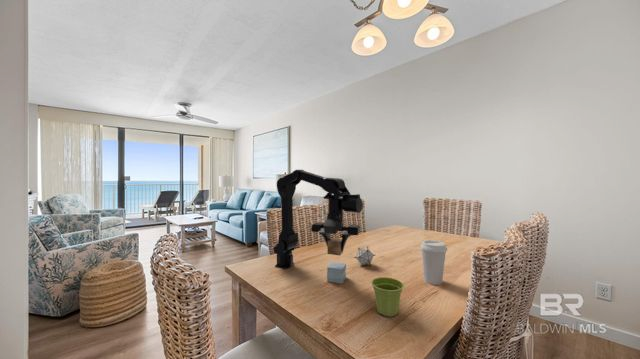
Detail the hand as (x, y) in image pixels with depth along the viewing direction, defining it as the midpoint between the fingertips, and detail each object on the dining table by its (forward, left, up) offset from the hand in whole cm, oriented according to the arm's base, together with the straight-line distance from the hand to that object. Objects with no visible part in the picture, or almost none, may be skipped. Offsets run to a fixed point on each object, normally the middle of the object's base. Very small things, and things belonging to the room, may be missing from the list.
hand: (335, 250), depth 100 cm
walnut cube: (0, 0, -1) cm, 1 cm away
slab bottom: (0, 0, -12) cm, 12 cm away
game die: (+8, +19, -12) cm, 24 cm away
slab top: (0, 0, -8) cm, 8 cm away
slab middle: (0, 0, -10) cm, 10 cm away
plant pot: (+21, -17, -12) cm, 29 cm away
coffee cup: (+36, +11, -12) cm, 40 cm away
